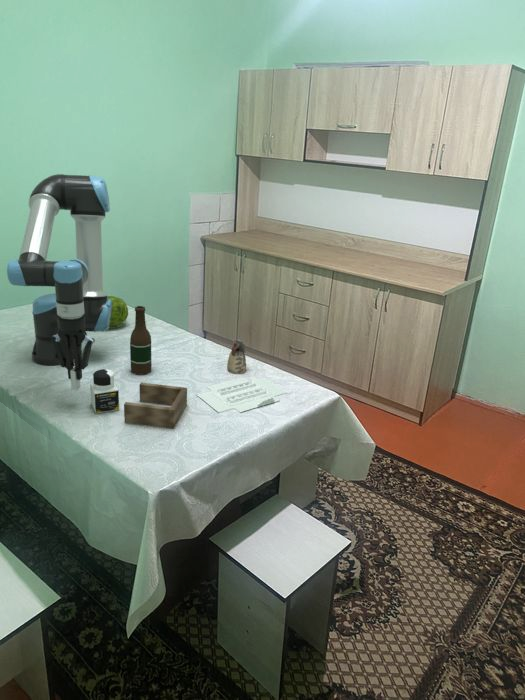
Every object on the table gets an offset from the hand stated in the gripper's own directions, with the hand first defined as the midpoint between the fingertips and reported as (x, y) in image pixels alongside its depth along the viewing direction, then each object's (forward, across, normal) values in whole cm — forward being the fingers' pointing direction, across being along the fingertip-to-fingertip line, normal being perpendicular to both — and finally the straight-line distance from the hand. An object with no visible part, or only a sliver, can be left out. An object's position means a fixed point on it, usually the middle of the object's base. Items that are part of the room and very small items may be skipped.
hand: (76, 388), depth 163 cm
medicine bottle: (+6, +9, 0) cm, 11 cm away
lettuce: (+4, -20, +72) cm, 75 cm away
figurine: (+5, +44, +38) cm, 59 cm away
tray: (+6, +49, +20) cm, 53 cm away
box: (+6, +25, 0) cm, 26 cm away
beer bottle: (+5, +11, +28) cm, 31 cm away
